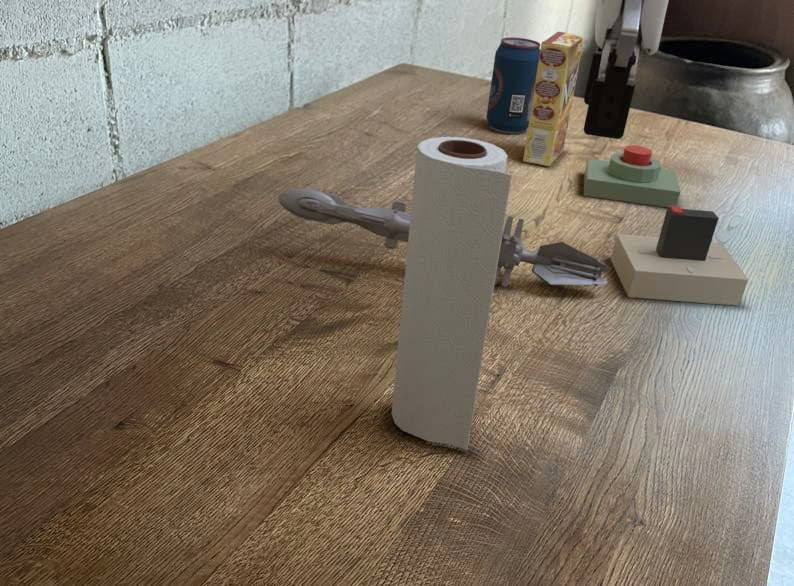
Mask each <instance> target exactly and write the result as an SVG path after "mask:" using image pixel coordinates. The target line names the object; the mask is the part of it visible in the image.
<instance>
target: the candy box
mask: <svg viewBox="0 0 794 586" xmlns="http://www.w3.org/2000/svg"><path fill="white" fill-rule="evenodd" d="M584 41H585V35H583V34H582V35H581V34H576V33H570V32H564V31H557V32H555V33H554V34H552V35H551V36H549V38H547V39H545V40H543V41H542V42H541V43H540V56H539V62H538V68H537V74H536V81H535V87H534V94H533V101H532V107H531V113H530V120H529V126H528V128H527V133H526V139H525V146H524V152H523V153H524V154H523V158H522V162H524V163H528V164H535V165H540V166H545V167H550V166H551V165H552V164H553V163H554V161H556V160H557V159H558V158H559V156H560V155H561V154H562V153H563V152H564V150H565V144H566V139H567V134H568V133H567V132H568V128H569V122H570V117H571V111H572V106H573V100H574V94H575V90H576V83H577V80H578V79H577V78H578V72H579V67H580V63H581V62H580V61H581V57H582V52H583V45H584Z"/></svg>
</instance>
